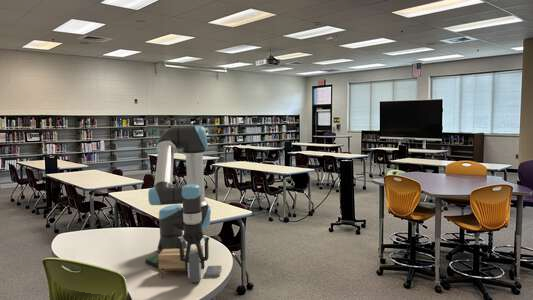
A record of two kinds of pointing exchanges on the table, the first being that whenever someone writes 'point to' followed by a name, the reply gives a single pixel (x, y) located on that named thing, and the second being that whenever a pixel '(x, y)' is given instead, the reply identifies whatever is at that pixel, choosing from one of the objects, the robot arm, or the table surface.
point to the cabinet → (172, 260)
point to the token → (213, 271)
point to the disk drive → (153, 262)
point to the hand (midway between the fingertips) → (195, 276)
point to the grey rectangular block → (194, 266)
